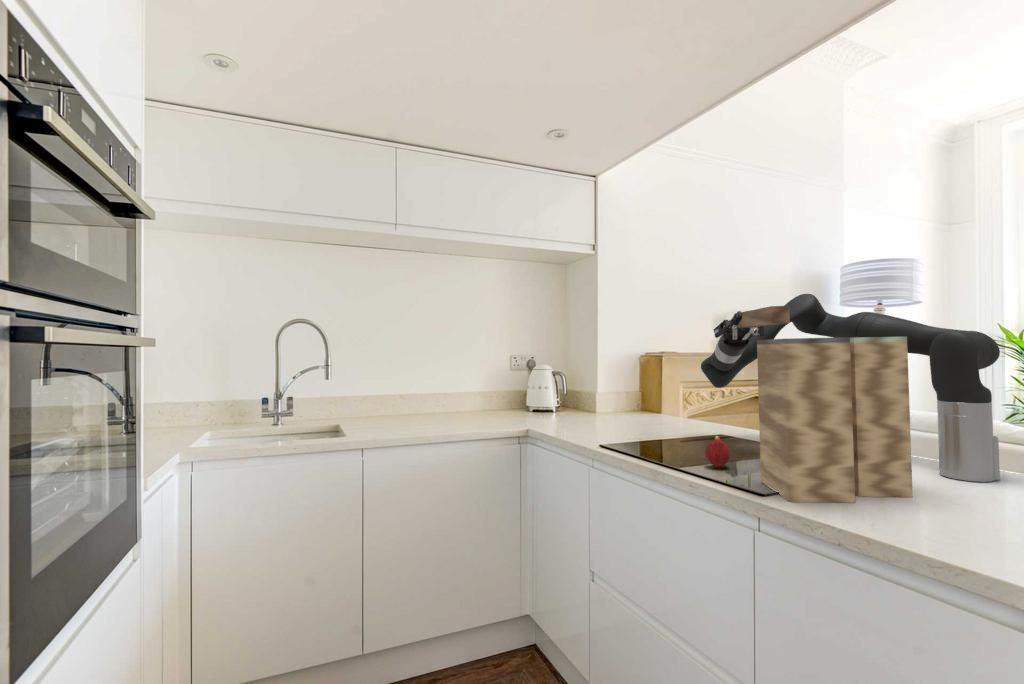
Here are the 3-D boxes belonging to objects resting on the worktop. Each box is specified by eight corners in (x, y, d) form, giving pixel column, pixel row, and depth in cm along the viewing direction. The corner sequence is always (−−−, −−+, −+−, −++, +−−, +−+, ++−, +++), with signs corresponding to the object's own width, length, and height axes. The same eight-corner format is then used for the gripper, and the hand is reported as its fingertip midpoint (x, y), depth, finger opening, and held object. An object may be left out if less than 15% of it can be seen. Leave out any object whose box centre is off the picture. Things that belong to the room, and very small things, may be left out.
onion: (732, 471, 121) (732, 438, 121) (708, 470, 122) (707, 438, 122) (727, 465, 127) (726, 434, 127) (703, 464, 128) (703, 434, 128)
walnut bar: (749, 327, 137) (749, 313, 137) (789, 323, 113) (789, 305, 113) (734, 328, 137) (734, 313, 137) (771, 323, 113) (771, 306, 113)
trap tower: (817, 483, 109) (813, 339, 110) (855, 502, 95) (849, 337, 96) (761, 482, 110) (756, 340, 111) (790, 501, 96) (785, 338, 97)
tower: (868, 478, 112) (864, 338, 112) (912, 497, 98) (907, 336, 98) (822, 478, 113) (817, 339, 113) (859, 496, 99) (853, 337, 99)
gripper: (704, 335, 149) (719, 302, 134) (752, 334, 147) (773, 301, 133) (708, 357, 145) (724, 326, 130) (758, 356, 143) (780, 324, 129)
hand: (749, 313), depth 132 cm, fingers closed on walnut bar, 4 cm apart
